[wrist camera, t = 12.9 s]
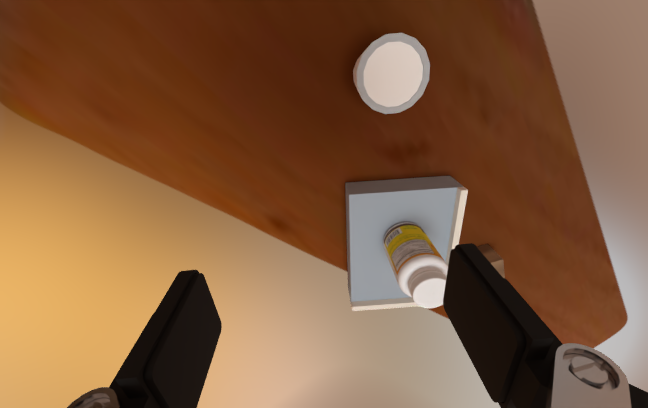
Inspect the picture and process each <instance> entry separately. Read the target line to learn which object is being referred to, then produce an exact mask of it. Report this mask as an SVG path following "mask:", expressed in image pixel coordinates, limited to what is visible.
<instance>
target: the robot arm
mask: <svg viewBox="0 0 648 408" xmlns="http://www.w3.org/2000/svg"><path fill="white" fill-rule="evenodd" d="M443 305H444V309H445V311H446V313H447V315H448V317H449V319H450V321H451V323H452V324H453V326H454V328H455V330H456V332H457V334H458V336H459V338H460V340H461V342H462V344H463V346H464V347H465V349H466V351H467V353H468V355H469V357H470V359H471V361H472V363H473V365H474V367H475V368H476V370H477V372H478V374H479V376H480V378H481V380H482V382H483V384H484V386H485V388H486V390H487V392H488V393H489V395H490V397H491V399H492V400H493V401H494V402H498V403H499V405H500V407H501V408H648V392H645V391H643V390H641V389H639V388H637V387H635V386H633V385H630V384H628V381H627V378H626V376H625V374H624V373H623V372H622V370H621V369H620V367H619V366H618V365H616V364H615V363H614V362H613V361H612V360H611V359H610V358H608V357H607V356H605V355H604V354H602V353H601V352H599V351H597V350H595V349H593V348H591V347H588V346H584V345H581V344H574V343H568V344H562V343H561V342H560V341H559V339H558V338H557V337H556V336H555V335H554V334H553V332H552V331H551V330H550V329H549V328H548V327H547V326H546V324H545V323H544V322H543V321H542V320H541V319H540V317H539V316H538V315H537V314H536V313H535V312H534V311H533V309H532V308H531V307H530V306H529V305H528V304H527V302H526V301H525V300H524V299H523V298H522V297H521V296H520V294H519V293H518V292H517V291H516V290H515V289H514V287H513V286H512V285H511V284H510V283H509V282H508V281H507V280H506V279H505V278H503V277H502V276H501V275H500V274H499V272H498V271H497V270H496V269H495V268H494V267H493V265H492V264H491V263H490V262H489V261H488V260H487V258H486V257H485V256H484V255H483V254H482V253H481V251H480V250H479V249H478V248H477V247H476V246H475V245H474V244H472V243H471V244H461V245H456V246H455V249H452V250H451V252H450V258H449V264H448V271H447V278H446V284H445V291H444V298H443ZM220 333H221V321H220V318H219V315H218V312H217V310H216V307H215V304H214V301H213V299H212V296H211V293H210V291H209V288H208V285H207V283H206V280H205V277H204V275H203V274H202V273H199V272H198V271H197V270H189V271H181V272H179V273H178V275H177V276H176V278H175V280H174V281H173V283H172V285H171V286H170V288H169V290H168V291H167V293H166V295H165V296H164V298H163V300H162V301H161V303H160V305H159V306H158V308H157V310H156V312H155V313H154V314H153V315H152V317H151V318H150V320H149V322H148V323H147V325H146V327H145V328H144V330H143V332H142V333H141V335H140V337H139V338H138V340H137V342H136V343H135V345H134V347H133V348H132V350H131V352H130V353H129V355H128V356H127V358H126V360H125V361H124V363H123V365H122V366H121V368H120V370H119V371H118V373H117V375H116V377H115V378H114V380H113V382H112V383H111V385H110V387H109V388H108V387H104V388H103V387H102V388H97V389H94V390H91V391H89V392H87V393H85V394H83V395H82V396H80V397H79V398H78V399H76V400H75V401H74V402H72V403H71V404H70V405H69V406H68V407H67V408H196V407H197V404H198V401H199V398H200V395H201V392H202V389H203V386H204V383H205V379H206V376H207V373H208V370H209V367H210V364H211V361H212V358H213V355H214V351H215V348H216V345H217V342H218V339H219V336H220Z"/></svg>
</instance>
